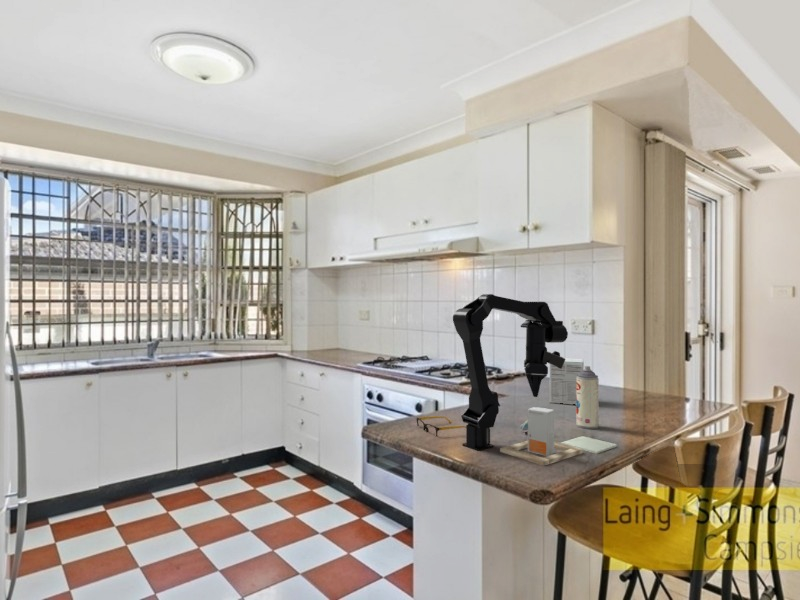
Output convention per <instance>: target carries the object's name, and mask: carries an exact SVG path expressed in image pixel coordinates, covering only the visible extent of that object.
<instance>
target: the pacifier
mask: <svg viewBox="0 0 800 600" xmlns="http://www.w3.org/2000/svg"><path fill="white" fill-rule="evenodd" d="M519 429H520V430H522V431H528V419H526V420H525V422H523V423H522V424H521V425H520V426H519Z"/></svg>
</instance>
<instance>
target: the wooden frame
mask: <svg viewBox="0 0 800 600" xmlns="http://www.w3.org/2000/svg"><path fill="white" fill-rule="evenodd" d="M523 449H528V440H525V441H521V442H518V443H514V444H511V445H507V446H506V445H505V446H503V447H500V448H499V452H500V453H502V454H506V455H509V456H511V457H515V458H519V459H521V460H525V461H528V462H531V463H534V464H536V465H540V466H547V465H551V464H553V463H557V462H559V461H563V460H565V459H569V458H571V457H572V458H573V457H576V456H578V455H582V454H583V450H582V449H581V448H577V447H573V446H569V445H566V444H562V443H561V442H558V441H555V440H554V450H560V451H559V452H557V453H553V454H551V455H549V456H543V457H542V456H541V457H540V456H537V455H534V454H533V453H529V452H524V451H521V450H523Z"/></svg>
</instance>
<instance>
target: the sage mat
mask: <svg viewBox="0 0 800 600" xmlns="http://www.w3.org/2000/svg"><path fill="white" fill-rule="evenodd" d="M560 443H562V444H566V445H569V446H573V447H577V448H581V449H582V451H585V452H590V453H593V454H600V453H603V452H606V451H608V450H610V449H614V448H617V447H618V444H616V443H612V442H608V441H604V440H601V439H600V440H599V439H596V438H593V437H588V436H584V435H581V436H578V437H575V438H571V439H568V440H565V441H561V442H560Z"/></svg>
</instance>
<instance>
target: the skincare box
mask: <svg viewBox="0 0 800 600" xmlns="http://www.w3.org/2000/svg"><path fill="white" fill-rule="evenodd" d="M527 420H528V430H527V441H528V448H527V453H530V454H536V455H540V456H543V457H547V456H550V455H553V454H555V448H554V441H555V410H554V409H552V408H545V407H537V406H533V407H530V408H528V409H527Z"/></svg>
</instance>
